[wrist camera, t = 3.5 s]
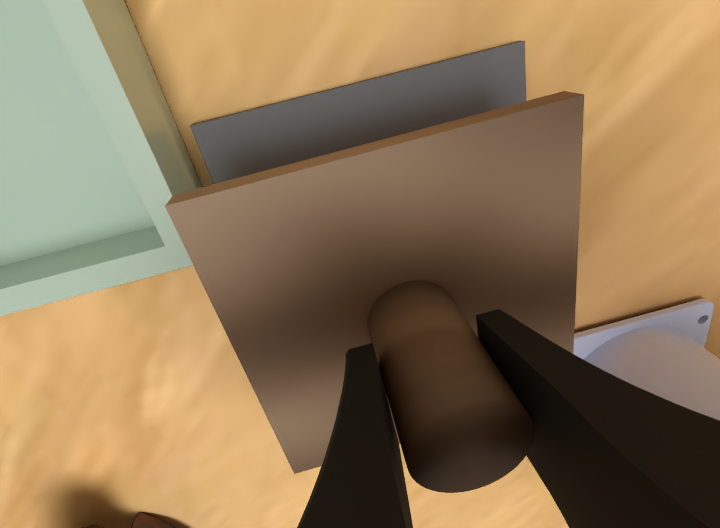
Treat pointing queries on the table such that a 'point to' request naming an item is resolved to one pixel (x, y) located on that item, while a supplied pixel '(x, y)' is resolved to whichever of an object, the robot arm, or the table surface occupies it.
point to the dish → (83, 154)
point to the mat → (361, 112)
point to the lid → (400, 279)
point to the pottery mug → (142, 522)
